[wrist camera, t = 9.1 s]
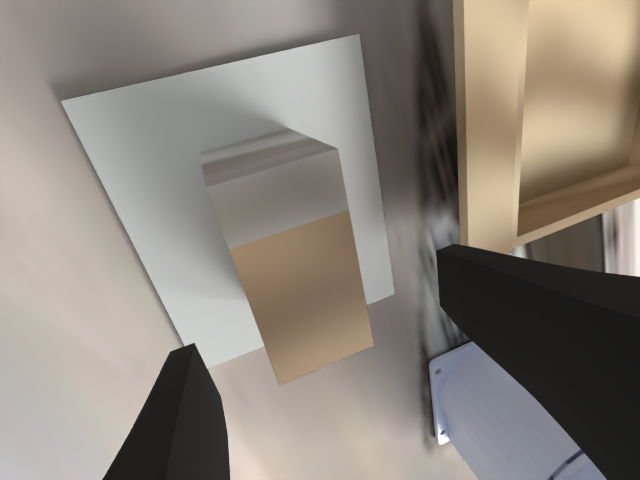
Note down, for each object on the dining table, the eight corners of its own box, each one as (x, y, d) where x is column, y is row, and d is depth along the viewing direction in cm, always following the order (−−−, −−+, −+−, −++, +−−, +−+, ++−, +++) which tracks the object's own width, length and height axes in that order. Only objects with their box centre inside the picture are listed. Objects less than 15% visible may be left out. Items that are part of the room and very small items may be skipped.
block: (324, 276, 20) (373, 345, 14) (253, 302, 19) (279, 385, 14) (288, 128, 16) (338, 148, 11) (199, 152, 15) (205, 187, 10)
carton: (663, 153, 26) (761, 167, 21) (409, 248, 21) (466, 290, 17) (718, -82, 20) (870, -129, 15) (381, -15, 15) (458, -55, 11)
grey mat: (390, 290, 22) (394, 294, 22) (198, 366, 20) (198, 372, 19) (354, 34, 16) (359, 33, 15) (64, 100, 13) (60, 101, 13)
